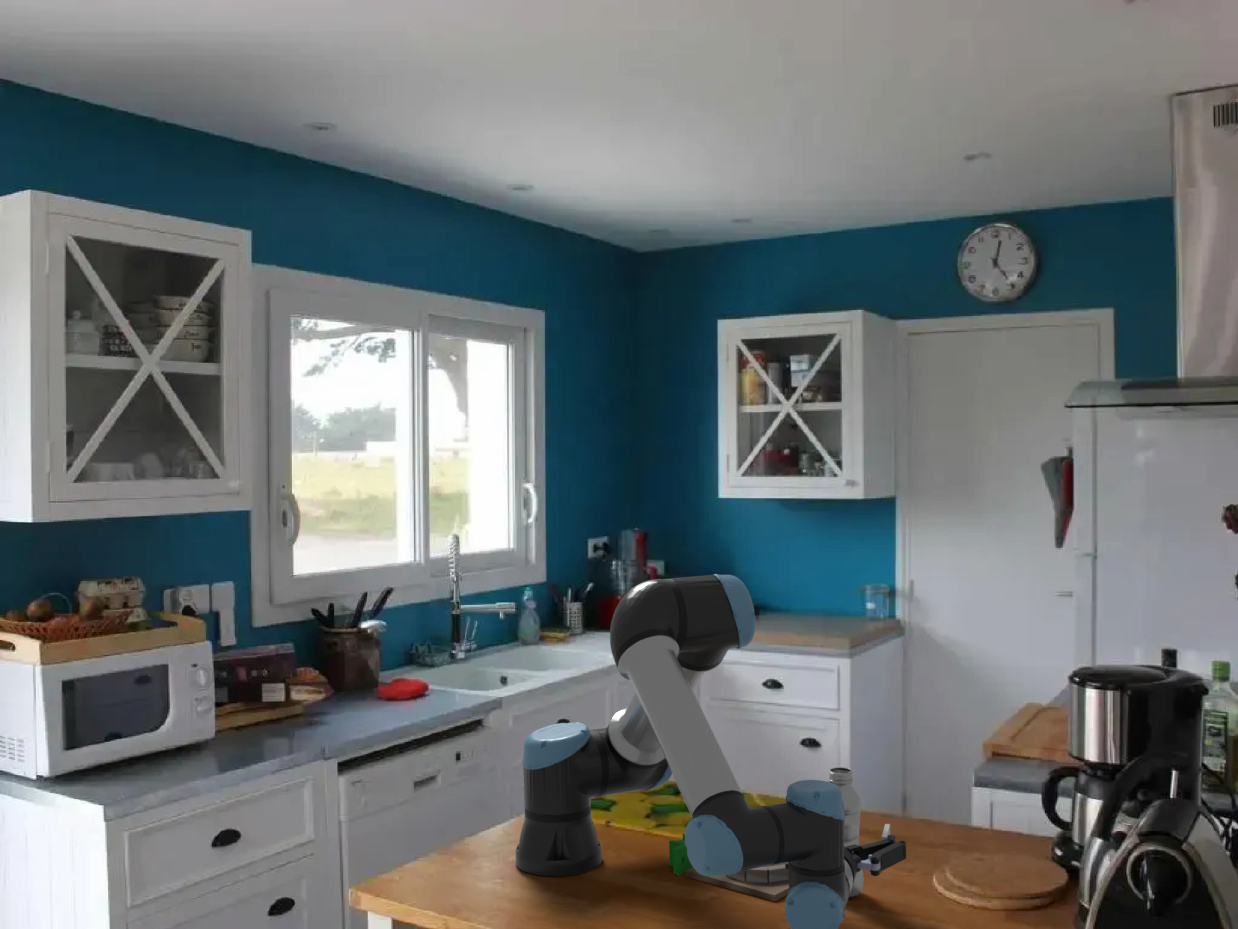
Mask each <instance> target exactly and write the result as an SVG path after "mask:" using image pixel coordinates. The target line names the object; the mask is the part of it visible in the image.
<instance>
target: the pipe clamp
mask: <svg viewBox="0 0 1238 929" xmlns="http://www.w3.org/2000/svg"><path fill="white" fill-rule="evenodd" d="M668 842H669V844H668V850H669V855H668V856H669V867H673V869H672V871H673V872H672V873H673V875H676V876H680V875H682V874H683V873H686V870H688V869H690V868H693V866H692V865H691V863H690V861H689V858H688V856H687V847H686V845H685V832H684V833H683V834H682V839H679V840H678V839H677V840H674V839H671V840H669V841H668Z"/></svg>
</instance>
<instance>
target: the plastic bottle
mask: <svg viewBox="0 0 1238 929" xmlns="http://www.w3.org/2000/svg"><path fill="white" fill-rule="evenodd" d="M828 771H829V772H828V774H829V775H828V782H830V783H832V784H835V785H836V786H838V787H839V788H840V790H841V792H842V797H843V803H844V814H845V821H844V847H846V846H850V845H854V844H856V845H859V846H860V824H861V822H860V821H861V815H862V814H861V813H862V801H861V797H860V796H859V794H858V793H857V791H856V790H855V789H854V787H853V786H852V783H853V782H854V778H853V769H851V768H848V767H843V766H841V767H832V768H830V769H829V770H828ZM852 853H853V852H852ZM863 872H864V871H863V869H861V870H860V871H859V872H857V873H856V876H855V879H854V882H853V886H852V888H851V892H850V895H849V898H853V897H854V898H855V897H856V896H858V895H860V893H861V892H862V891H863V888H864V887H863V886H864V881H865V880H864V879H865V878H864V873H863Z"/></svg>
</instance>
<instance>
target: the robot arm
mask: <svg viewBox="0 0 1238 929" xmlns="http://www.w3.org/2000/svg"><path fill="white" fill-rule="evenodd" d="M755 614H756V613H755V608H754V604H753V600H752V597H751V595H750V592H749V589H748V588H747V587H746V585H745V583H744V582H743V581H742V580H741V579H740V578H739V577H737V576H736V575H732V574H718V573H714V574H707V575H696V576H685V577H675V578H674V577H673V578H663V579H662V578H657V579H649V580H646V581H643V582H641V583H639V584H637V585H635V586H633V587H632V588H631V589H630V590H629V591H627V593H625V594H624V596H623V597H622V598H621V599H620V601H619V603H618V604H617V606H616V608H615V609H614V612H613V615H612V619H611V622H610V631H609V643H610V644H609V645H610V650H611V654H612V658H613V661H614V663H615V665H616V668H617V671H618V672H619V674H620V675H621V677H622V678H624V679H626V680H627V681H628V680H629V681H630V683H631V685H632V686H633V689H634V694H633V696H632V697H631V699H630V701H629V703H628V706H627V707H626V708H623V709H621V710H619V711H618V712H616V713H615V714H614V715H613V716H612V718H611V720H610V721H609V723H608V726H606V727H602V728H596V729H589V727H588V725H587V724H585V723H582V722H578V721H577V722H575V721H574V722H573V721H571V722H568V723H567V722H561V723H554V724H550V725H545V726H543V727H540V728H538V729H536V730H534V731H532V732H531V733H530V734H528V735H527V737H526V738H525V740H524V742H523V755H522V756H523V757H522V760H521V762H522V767H523V768H522V770H523V789H524V790H523V793H524V794H523V799H524V801H523V802H524V821H523V824H522V827H521V832H520V836H519V843H518V844H517V846H516V848H515V866H516V867H517V868H518V869H519V870H521V871H522V872H525V873H529V874H532V875H536V876H545V877H546V876H547V877H562V876H563V877H564V876H565V877H566V876H571V875H572V876H573V875H578V874H582V873H586V872H589V871H591V870H594V869H595V868H597V867H599V865H601V863H602V861H603V847H602V843H601V842H600V841H599V839H598V838H599V837H598V835H597V834H598V833H597V831H596V826H595V824H594V820H593V818H592V809H591V808H592V803H591V802H592V799H593V798H599V797H604V796H605V797H606V796H612V795H617V794H619V795H620V794H624V793H633V792H637V791H638V792H641V791H649V790H652V789H655V788H658V787H661V786H663V785H665V784H666V783H667V782H668V781H669V780H670V778H671V777H672V775H673V779H674V780H675V782H676V785H677V787H678V789H679V791H680V794H681V796H682V798H683V800H684V803H685V804H686V808H687V809H688V812H689V814H690V816H691V818H692V819H690V820H689V822H688V824H687V825H686V828H685V832H684V833H685V845H686V847H687V856H688V858H689V861H690V863H691V865H692V866H693V868H694V869H695V870H696V871H697V872H698V873H700V874H701V875H704V876H716V875H731V874H736V873H737V872H740V871H744V870H749V869H754V868H758V867H763V866H768V865H775V864H781V863H785V868H786V869H789V892H788V894H787V895H786V896H785V904H784V915H785V920H786V922H787V923H788V925H789V927H790V929H839V928H840V925H842V922H843V921H844V919H845V912H846V909H847V904H848V901H849V898H850V897H849V895H850V892H851V888H852V886H853V882H854V879H855V876H856V873H857V872H859V871H860V870H861V869H862V870H868V872H869V873H870V875H871V876H872V877H878V876H880V874H881V873H882V872H883V871H884V870H887V869H888V868H890V867H892V866H895V865H896V864H898V863H900V862H902V861H904V860H906V859H907V841H905V840H898V841H897V836H896V835H894V834H891V824H890V823H885V824H884V827H883V831H882V833H881V834H882V835H881V840H878V841H875V842H871V843H870V842H869V843H867V844H866V843H865V844H863V845H860V844H859V845H856V844H854V845H850V846H846V847H844V821H845V814H844V803H843V797H842V792H841V790H840V788H839V787H838V786H836V785H835V784H832V783H830V782H829V781H827V780H821V779H818V780H817V779H803V780H797V781H795V782H792V783H791V784H789V785H788V786H787V789H786V796H785V802H779V803H774V804H768V805H761V806H756V807H754V806H753V807H750V806H749V803H748V800H747V799H746V798H745V796H744V794H743V792H742V790H741V788H740V785H739V783H738V782H737V779H736V777H735V775H734V773H733V771H732V769H731V767H730V764H729V763H728V761H727V758H726V756H725V754H724V752H723V750H722V748H721V746H720V744H719V742H718V740H717V738H716V736H715V734H714V732H713V729H712V727H711V725H710V724H709V722H708V719H707V718H706V715H705V713H704V711H703V709H702V707H701V706H700V705H701V704H700V703H699V701H698V698H697V696H696V695H695V692H694V691H695V690H696V688H697V686H698V685H699V683H700V681H701V679H702V677H703V675H704V674H705V672H710V671H713V670H714V669H716V668H717V667H718V666H720V664H721V663H722V661H723V659H724V658H725V656H726V655H727V653H728V651H729V650H731V649H738V650H740V649H741V648H743V647H747V646H748V645H749V644H751V642H752V641H753V639H754V636H755V630H756V615H755ZM852 852H853V853H852Z"/></svg>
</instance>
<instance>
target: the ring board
mask: <svg viewBox="0 0 1238 929" xmlns="http://www.w3.org/2000/svg"><path fill="white" fill-rule="evenodd" d="M685 877H687V878H689V879H693V880H697V881H700V882H704V883H707V884H711V885H715V886H718V887H721V888H726V889H729V890H733V891H737V892H740V893H743V894H747V895H752V896H754V897H758V898H761V899H764V900H768V901H771V902H777V901H778V900H780V899H783V898H784V897H787V896H788V895H787V894H788V892H789V869H786V868H785V863H781V864H775V865H768V866H763V867H758V868H754V869H749V870H744V871H740V872H737V873H736V874H731V875H716V876H704V875H701V874H700V873H698V872H697V871H696V870H695V869H694V868H690V869H688V870H686V872H685Z"/></svg>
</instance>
